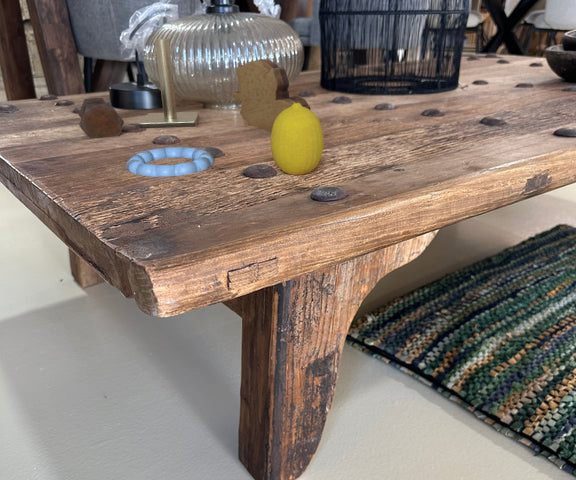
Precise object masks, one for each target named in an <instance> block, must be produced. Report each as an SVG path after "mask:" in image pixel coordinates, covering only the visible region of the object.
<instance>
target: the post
mask: <svg viewBox="0 0 576 480" xmlns="http://www.w3.org/2000/svg"><path fill="white" fill-rule="evenodd" d="M154 43H155V51H156V59H157V60H156V61H157V68H158V77H159V87H160V96H161V102H162V103H161V104H162V112H148V113H147V114H146V116H144V118H143V119H142V121H141V122H140V123H139V124H140V125H139V126H140V129H171V128H172V129H173V128H174V129H175V128H197V127H198V123H199V121H200V112H199V111H179V112H178V109H177V101H176V92H175V81H174V71H173V64H172V54H171V43H170V38H155V39H154Z"/></svg>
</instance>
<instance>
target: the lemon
mask: <svg viewBox="0 0 576 480" xmlns="http://www.w3.org/2000/svg"><path fill="white" fill-rule="evenodd" d="M270 133H271V134H270V152H271V155H272V158H273V161H274V163H275V165H276V166H277V167H278V168H279V169H280V171H282V172H284V173H286V174H288V175H291V176H303V175H306V174H308V173H311V172H312V171H313V170H314V169H315V168H316V167H317V166H318V165H319V163H320V162H321V159H322V157H323V152H324V145H325V140H324V139H325V138H324V131H323V127H322V123H321V121H320V118H319V117H318V116H317V115H316V113H314V111H312V110H309V109H308V108H305V107H303V106H302V105H301V104H300V103H293V105H292V106H291V107H289V108H287V109H285V110H284V111H282V112H281V113H280V114H279V115H278V116H277V118H276V119H275V122H274V124H273V128H272V132H270Z"/></svg>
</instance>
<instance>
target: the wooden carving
mask: <svg viewBox="0 0 576 480" xmlns="http://www.w3.org/2000/svg"><path fill="white" fill-rule="evenodd" d="M236 78H237V83H238V85H239V90H237V91H234V92H233V93H232V96H233V98H234V99H235V101H237V102H238V101H239V102H240V104H241V105H240V107H241V109H240V111H239V114H240V116H241V118H242V119H243V120H244V121H245V123H247V124H248V125H249V126H251V127H253V128H257V129H260V130H263V131H266V132H269V133H272V128H273V124H274V122H275V119H276V118H277V116H278V115H279V114H280V113H281V112H282V111H284V110H285V109H287V108H289V107H291V106H292V105H293V103H300V104H301V105H302V106H303V107H305V108H308V109H309V110H311V106H310V105H309V103H308V101H307V100H306V99H305V98H304V97H302V96H299V95H293V96H290V91H289V89H288V88H289V87H290V80H289V78H288V74H287V70H286V69H285V67H284V66H282V67H279V66H278V64H277V63H275V62H274V61H272V60H270V59H268V58H261V59H257V60H251V61H248V62H246V63H244V64H240V65H237V68H236ZM311 111H312V110H311Z"/></svg>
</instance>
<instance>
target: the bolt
mask: <svg viewBox="0 0 576 480" xmlns="http://www.w3.org/2000/svg"><path fill="white" fill-rule="evenodd" d="M78 117H79V118H80V121H79V124H78V125H79V126H78V127H80V129H81V130H82V132H83V133H84V134H85V135H86V136H87V138H88V139H89V140H94V139H104V138H114V137H120V135H121V132H122V130H123V127H124V124H125V120H124V119H123V118H122V117H121V116H120V114H119V113H118V112H117V110H116V109H115V108H114V107H113V105H112V104H111V103H110V102H107V101H105V99H104V98H103V97H90V98H89V97H88V98H84V100H83V102H82V104H81V106H80V110H79V112H78Z"/></svg>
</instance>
